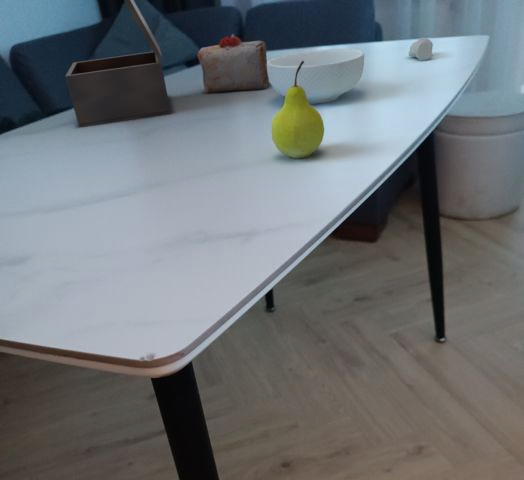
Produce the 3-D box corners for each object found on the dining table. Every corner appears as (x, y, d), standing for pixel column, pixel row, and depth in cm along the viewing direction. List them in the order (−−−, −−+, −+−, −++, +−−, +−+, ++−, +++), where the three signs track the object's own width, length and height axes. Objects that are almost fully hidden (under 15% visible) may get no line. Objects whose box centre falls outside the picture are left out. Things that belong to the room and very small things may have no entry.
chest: (79, 129, 107) (65, 76, 102) (85, 110, 120) (72, 62, 115) (171, 115, 108) (161, 62, 103) (167, 98, 121) (158, 50, 116)
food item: (199, 96, 119) (191, 42, 114) (208, 87, 126) (201, 35, 120) (266, 91, 117) (260, 35, 111) (272, 82, 123) (267, 29, 117)
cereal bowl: (382, 91, 106) (383, 48, 102) (326, 115, 97) (324, 68, 93) (308, 86, 117) (306, 46, 113) (251, 107, 107) (246, 64, 103)
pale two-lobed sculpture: (411, 62, 132) (435, 52, 130) (410, 68, 126) (434, 58, 123) (406, 41, 130) (430, 32, 128) (404, 47, 124) (429, 37, 122)
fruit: (264, 158, 81) (254, 63, 75) (302, 146, 84) (297, 53, 78) (295, 168, 77) (288, 67, 70) (335, 154, 80) (332, 56, 73)
